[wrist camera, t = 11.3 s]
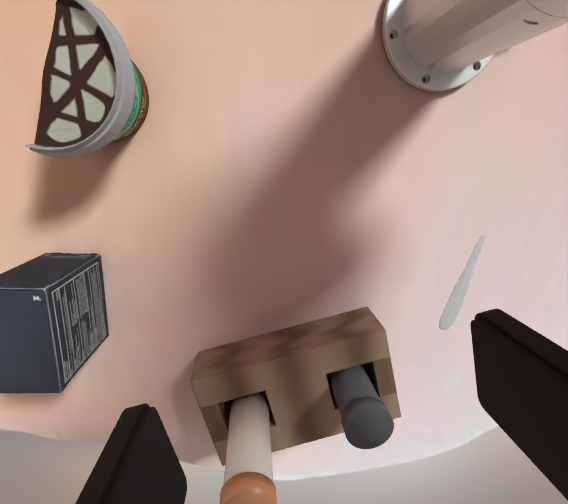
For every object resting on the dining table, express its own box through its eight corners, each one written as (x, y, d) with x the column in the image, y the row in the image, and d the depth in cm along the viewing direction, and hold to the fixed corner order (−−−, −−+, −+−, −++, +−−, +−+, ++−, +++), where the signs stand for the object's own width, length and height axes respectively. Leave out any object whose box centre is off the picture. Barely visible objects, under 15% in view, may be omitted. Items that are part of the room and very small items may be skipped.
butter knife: (430, 326, 44) (451, 332, 45) (519, 115, 38) (541, 122, 39) (428, 325, 45) (449, 329, 45) (515, 115, 39) (537, 123, 39)
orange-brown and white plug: (264, 386, 39) (269, 482, 27) (274, 419, 40) (283, 525, 29) (223, 397, 39) (211, 499, 27) (235, 430, 40) (228, 540, 28)
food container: (145, 173, 36) (106, 179, 27) (86, 154, 35) (23, 152, 26) (174, 53, 34) (142, 10, 24) (110, 28, 33) (50, -27, 23)
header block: (367, 306, 43) (385, 329, 37) (382, 384, 46) (401, 416, 40) (198, 351, 42) (190, 382, 37) (226, 427, 46) (222, 465, 40)
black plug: (353, 337, 44) (389, 402, 32) (360, 368, 45) (397, 441, 33) (317, 347, 43) (340, 415, 32) (325, 378, 45) (350, 454, 33)
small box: (40, 251, 38) (-38, 285, 28) (102, 252, 38) (47, 286, 28) (53, 337, 40) (-13, 396, 30) (110, 336, 41) (64, 394, 31)
